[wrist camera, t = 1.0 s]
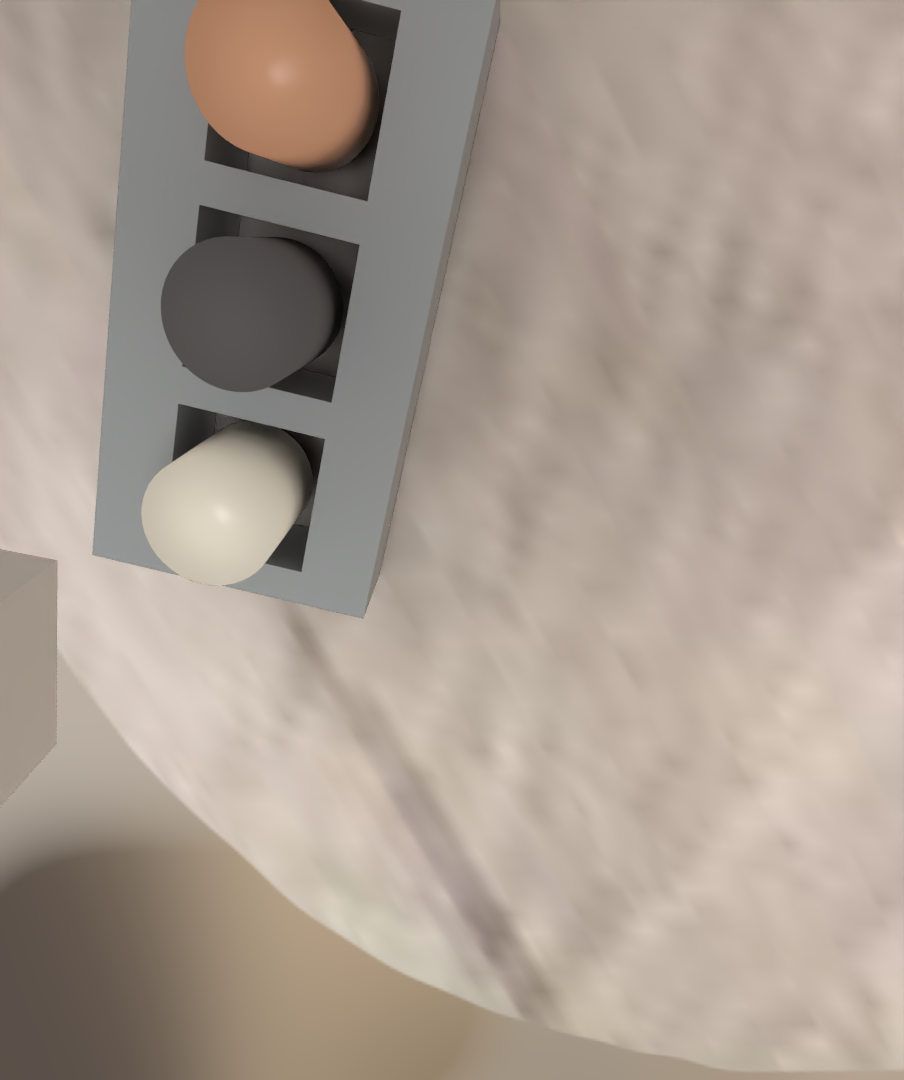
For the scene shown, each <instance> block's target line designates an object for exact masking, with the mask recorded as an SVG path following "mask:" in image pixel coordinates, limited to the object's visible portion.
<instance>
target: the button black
mask: <svg viewBox="0 0 904 1080" xmlns="http://www.w3.org/2000/svg"><path fill="white" fill-rule="evenodd" d="M342 316H343V299H342V292H341V289H340V285H339V282H338V280H337V277H336V276H335V274H334V272H333V270H332V268H331V267H330V266H329V264H328V263H327V262H326V261H325V260H324V258H323V257H322V256H321V255H320V254H318V253H317V252H316V251H315V250H313V249H312V248H310V247H309V246H307V245H305V244H303V243H301V242H299V241H295V240H292V239H288V238H278V237H232V236H223V237H215V238H211V239H207V240H204V241H202V242H199V243H197V244H195V245H194V246H192V247H190V248H189V249H188V250H186V251H185V252H184V253H183V254H182V255H181V256H180V257H179V258H178V259H177V260H176V261H175V263H174V264H173V266H172V267H171V269H170V270H169V273H168V275H167V277H166V279H165V282H164V286H163V289H162V295H161V318H162V323H163V328H164V331H165V334H166V337H167V339H168V342H169V344H170V346H171V348H172V349H173V351H174V353H175V354H176V356H177V357H178V358H179V360H180V361H181V362H182V363H183V365H184V366H185V367H186V368H187V369H188V370H189V371H190V372H192V373H193V374H194V375H195V376H197V377H198V378H199V379H201V380H203V381H204V382H206V383H208V384H210V385H212V386H214V387H217V388H220V389H223V390H227V391H233V392H253V391H258V390H262V389H265V388H267V387H270V386H272V385H274V384H276V383H277V382H279V381H281V380H282V379H284V378H286V377H287V376H289V375H290V374H292V373H293V372H295V371H297V370H298V369H300V368H301V367H303V366H305V365H306V364H308V363H309V362H311V361H313V360H314V359H316V358H317V357H319V356H320V355H321V354H323V353H324V352H325V351H326V350H327V349H328V348H329V346H330V345H331V344H332V342H333V341H334V339H335V337H336V336H337V334H338V331H339V329H340V326H341V321H342Z"/></svg>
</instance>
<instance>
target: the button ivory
mask: <svg viewBox="0 0 904 1080" xmlns="http://www.w3.org/2000/svg"><path fill="white" fill-rule="evenodd" d="M312 485H313V478H312V471H311V467H310V463H309V461H308V459H307V456H306V454H305V453H304V451H303V449H302V448H301V447H300V445H299V444H298V443H297V442H296V441H295V440H294V439H293V438H292V437H291V436H290V435H289V434H287V433H286V432H284V431H283V430H281V429H279V428H278V427H274V426H269V425H265V424H261V423H257V422H253V421H242V422H237V423H234V424H231V425H228V426H226V427H225V428H223V429H221V430H220V431H218V432H217V433H215V434H214V435H212V436H211V437H209V438H208V439H206V440H205V441H203V442H202V443H200V444H199V445H197V446H196V447H194V448H193V449H191V450H190V451H188V452H187V453H185V454H184V455H182V456H181V457H179V458H178V459H176V460H175V461H173V462H172V463H170V464H169V465H167V466H166V467H165V468H163V469H162V470H161V471H159V472H158V473H157V474H156V475H155V477H154V478H153V479H152V480H151V482H150V483H149V485H148V487H147V489H146V491H145V494H144V497H143V501H142V509H141V517H142V525H143V529H144V532H145V535H146V538H147V540H148V542H149V544H150V546H151V548H152V549H153V551H154V552H155V553H156V555H157V556H158V557H159V558H160V560H161V561H162V562H163V563H164V564H165V565H167V566H168V567H169V568H170V569H171V570H173V571H174V572H176V573H177V574H179V575H181V576H182V577H184V578H187V579H189V580H191V581H194V582H197V583H201V584H206V585H229V584H234V583H237V582H240V581H243V580H245V579H247V578H249V577H250V576H252V575H253V574H255V573H256V572H257V571H258V570H259V569H260V568H261V567H262V566H263V565H264V564H265V562H266V561H267V560H268V558H269V557H270V556H271V554H272V553H273V552H274V550H275V549H276V548H277V546H278V545H279V543H280V542H281V541H282V539H283V538H284V537H285V535H286V534H287V533H288V531H289V530H290V528H291V527H292V526H293V524H294V523H295V522H296V520H297V519H298V518H299V516H300V515H301V513H302V512H303V511H304V509H305V508H306V506H307V504H308V502H309V499H310V496H311V492H312Z"/></svg>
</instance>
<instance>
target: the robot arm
mask: <svg viewBox="0 0 904 1080" xmlns="http://www.w3.org/2000/svg"><path fill="white" fill-rule="evenodd" d="M56 709H57V560H52V559H47V558H42V557H37V556H32V555H27V554H22V553H16V552H11V551H6V550H1V549H0V807H1V806H2V805H3V804H4V803H5V801H6V800H7V799H8V798H9V797H10V796H11V795H12V794H13V793H14V791H15V790H16V789H17V788H18V787H19V786H20V785H21V783H22V782H23V781H24V780H25V779H26V778H27V777H28V776H29V774H30V773H31V772H32V771H33V770H34V769H35V768H36V766H37V765H38V764H39V763H40V762H41V761H42V760H43V759H44V757H45V756H46V755H47V754H48V753H49V752H50V751H51V750H52V748H53V747H54V746H55V745H56V716H57V715H56V713H57V710H56Z"/></svg>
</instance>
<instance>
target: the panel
mask: <svg viewBox="0 0 904 1080" xmlns="http://www.w3.org/2000/svg"><path fill="white" fill-rule="evenodd" d="M198 1H199V0H132V1H131V15H130V29H129V44H128V58H127V72H126V86H125V100H124V115H123V129H122V143H121V157H120V171H119V185H118V200H117V214H116V228H115V242H114V256H113V271H112V285H111V299H110V313H109V327H108V342H107V356H106V370H105V384H104V398H103V412H102V427H101V441H100V455H99V469H98V483H97V498H96V512H95V526H94V540H93V554H92V555H95V556H99V557H103V558H107V559H112V560H116V561H120V562H124V563H129V564H133V565H137V566H141V567H146V568H150V569H154V570H158V571H163V572H167V573H171V574H175V575H179V574H177V573H176V572H174V571H173V570H171V569H170V568H169V567H168V566H167V565H165V564H164V563H163V562H162V561H161V560H160V558H159V557H158V556H157V555H156V553H155V552H154V551H153V549H152V548H151V546H150V544H149V542H148V540H147V538H146V535H145V532H144V529H143V525H142V517H141V509H142V501H143V497H144V494H145V491H146V489H147V487H148V485H149V483H150V482H151V480H152V479H153V478H154V477H155V475H156V474H157V473H158V472H159V471H161V470H162V469H163V468H165V467H166V466H167V465H169V464H170V463H172V462H173V461H175V460H176V459H178V458H179V457H181V456H182V455H184V454H185V453H187V452H188V451H190V450H191V449H193V448H194V447H196V446H197V445H199V444H200V443H202V442H203V441H205V440H206V439H208V438H209V437H211V436H212V435H214V427H215V419H216V413H220V414H224V415H228V416H232V417H236V418H240V419H245V420H249V421H253V422H257V423H261V424H265V425H269V426H274V427H278V428H282V429H286V430H290V431H294V432H298V433H303V434H307V435H311V436H315V437H319V438H323V439H325V443H324V448H323V454H322V460H321V465H320V471H319V476H318V482H317V488H316V493H315V499H314V505H313V510H312V516H311V521H310V527H309V528H307V527H302V526H298V525H294V524H293V526H292V527H291V528H290V530H289V531H288V533H287V534H286V535H285V537H284V538H283V539H282V541H281V542H280V543H279V545H278V546H277V548H276V549H275V550H274V552H273V553H272V554H271V556H270V557H269V558H268V560H267V561H266V562H265V564H264V565H263V566H262V567H261V568H260V569H259V570H258V571H257V572H256V573H255V574H253V575H252V576H250V577H249V578H247V579H245V580H243V581H240V582H237V583H234V584H229V585H222V586H226V587H231V588H235V589H239V590H243V591H248V592H252V593H256V594H260V595H265V596H269V597H273V598H277V599H282V600H286V601H290V602H294V603H299V604H303V605H307V606H311V607H316V608H320V609H324V610H328V611H333V612H337V613H341V614H345V615H350V616H354V617H358V618H362V619H363V618H364V615H365V612H366V610H367V607H368V604H369V601H370V599H371V596H372V593H373V590H374V588H375V585H376V582H377V579H378V577H379V574H380V570H381V565H382V560H383V556H384V551H385V547H386V542H387V537H388V533H389V528H390V524H391V519H392V514H393V510H394V505H395V501H396V496H397V492H398V487H399V482H400V478H401V473H402V469H403V464H404V459H405V455H406V450H407V446H408V441H409V436H410V432H411V427H412V423H413V418H414V413H415V409H416V404H417V400H418V395H419V391H420V386H421V381H422V377H423V372H424V368H425V363H426V358H427V354H428V349H429V345H430V340H431V335H432V331H433V326H434V322H435V317H436V312H437V308H438V303H439V299H440V294H441V290H442V285H443V280H444V276H445V271H446V267H447V262H448V257H449V253H450V248H451V244H452V239H453V234H454V230H455V225H456V221H457V216H458V211H459V207H460V202H461V198H462V193H463V189H464V184H465V179H466V175H467V170H468V166H469V161H470V156H471V152H472V147H473V143H474V138H475V133H476V129H477V124H478V120H479V115H480V110H481V106H482V101H483V97H484V92H485V88H486V83H487V78H488V74H489V69H490V65H491V60H492V55H493V51H494V46H495V42H496V37H497V32H498V28H499V23H500V0H329V2H330V3H331V4H332V6H333V7H334V9H335V10H336V11H337V13H338V14H339V16H340V17H341V19H342V20H343V21H344V23H345V24H346V26H347V27H348V28H350V29H354V30H358V31H362V32H366V33H370V34H373V35H377V36H381V37H385V38H389V39H393V40H396V43H395V49H394V55H393V60H392V66H391V71H390V77H389V83H388V88H387V94H386V100H385V105H384V111H383V116H382V122H381V128H380V133H379V139H378V145H377V150H376V156H375V161H374V167H373V173H372V178H371V184H370V190H369V195H368V201H364V200H360V199H356V198H352V197H348V196H344V195H340V194H336V193H332V192H328V191H324V190H320V189H316V188H312V187H308V186H304V185H300V184H296V183H292V182H288V181H284V180H280V179H276V178H272V177H268V176H264V175H260V174H256V173H252V172H248V171H246V170H247V162H248V154H249V152H247V151H244V150H242V149H240V148H238V147H236V146H234V145H233V144H231V143H230V142H228V141H227V140H225V139H224V138H223V137H222V136H221V135H220V134H218V133H217V132H216V131H215V129H214V128H213V127H212V126H211V125H210V124H209V123H208V121H207V120H206V119H205V117H204V116H203V115H202V113H201V111H200V109H199V108H198V106H197V104H196V102H195V100H194V97H193V95H192V93H191V90H190V86H189V83H188V79H187V74H186V69H185V57H184V50H185V38H186V31H187V27H188V24H189V20H190V17H191V15H192V12H193V10H194V8H195V6H196V4H197V2H198ZM241 215H243V216H247V217H251V218H255V219H259V220H263V221H267V222H271V223H275V224H279V225H283V226H287V227H291V228H295V229H299V230H303V231H307V232H311V233H315V234H319V235H323V236H327V237H331V238H335V239H339V240H343V241H347V242H351V243H355V244H359V245H360V246H359V251H358V257H357V263H356V268H355V274H354V280H353V285H352V291H351V296H350V302H349V308H348V313H347V319H346V325H345V330H344V336H343V341H342V347H341V353H340V358H339V364H338V370H337V375H336V377H332V376H328V375H324V374H320V373H316V372H312V371H307V370H303V369H298V370H297V371H295V372H293V373H292V374H290V375H289V376H287V377H286V378H284V379H282V380H281V381H279V382H277V383H276V384H274V385H272V386H270V387H267V388H265V389H262V390H258V391H253V392H233V391H227V390H223V389H220V388H217V387H214V386H212V385H210V384H208V383H206V382H204V381H203V380H201V379H199V378H198V377H197V376H195V375H194V374H193V373H192V372H190V371H189V370H188V369H187V368H186V367H185V366H184V365H183V363H182V362H181V361H180V360H179V358H178V357H177V356H176V354H175V353H174V351H173V349H172V348H171V346H170V344H169V342H168V339H167V337H166V334H165V331H164V328H163V323H162V318H161V295H162V289H163V286H164V282H165V279H166V277H167V275H168V273H169V270H170V269H171V267H172V266H173V264H174V263H175V261H176V260H177V259H178V258H179V257H180V256H181V255H182V254H183V253H184V252H185V251H186V250H188V249H189V248H190V247H192V246H194V245H195V244H197V243H199V242H202V241H204V240H207V239H211V238H215V237H223V236H232V237H238V234H239V226H240V218H241ZM180 576H181V575H180Z"/></svg>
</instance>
